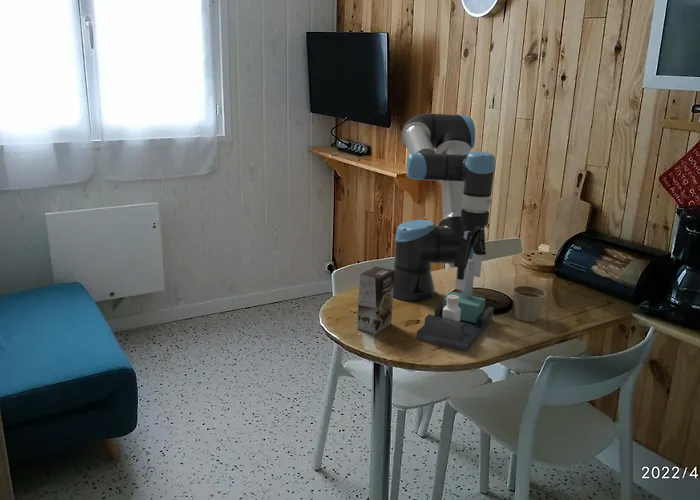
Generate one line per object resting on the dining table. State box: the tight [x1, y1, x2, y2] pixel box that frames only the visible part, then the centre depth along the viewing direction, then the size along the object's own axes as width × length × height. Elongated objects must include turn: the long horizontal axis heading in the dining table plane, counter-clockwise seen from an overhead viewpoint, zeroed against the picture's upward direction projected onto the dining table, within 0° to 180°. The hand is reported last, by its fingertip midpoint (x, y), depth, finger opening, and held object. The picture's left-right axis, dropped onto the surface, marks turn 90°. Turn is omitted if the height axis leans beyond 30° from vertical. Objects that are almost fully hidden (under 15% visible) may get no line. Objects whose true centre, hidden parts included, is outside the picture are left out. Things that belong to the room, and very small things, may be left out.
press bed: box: [415, 302, 495, 353], centre depth 169 cm, size 14×24×6 cm, turn 151°
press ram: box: [442, 259, 486, 323], centre depth 172 cm, size 10×7×16 cm
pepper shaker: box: [442, 294, 461, 321], centre depth 164 cm, size 4×4×10 cm
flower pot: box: [512, 285, 547, 323], centre depth 178 cm, size 9×9×9 cm
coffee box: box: [356, 266, 395, 335], centre depth 168 cm, size 9×6×16 cm
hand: (467, 282), depth 173 cm, fingers open, 13 cm apart
